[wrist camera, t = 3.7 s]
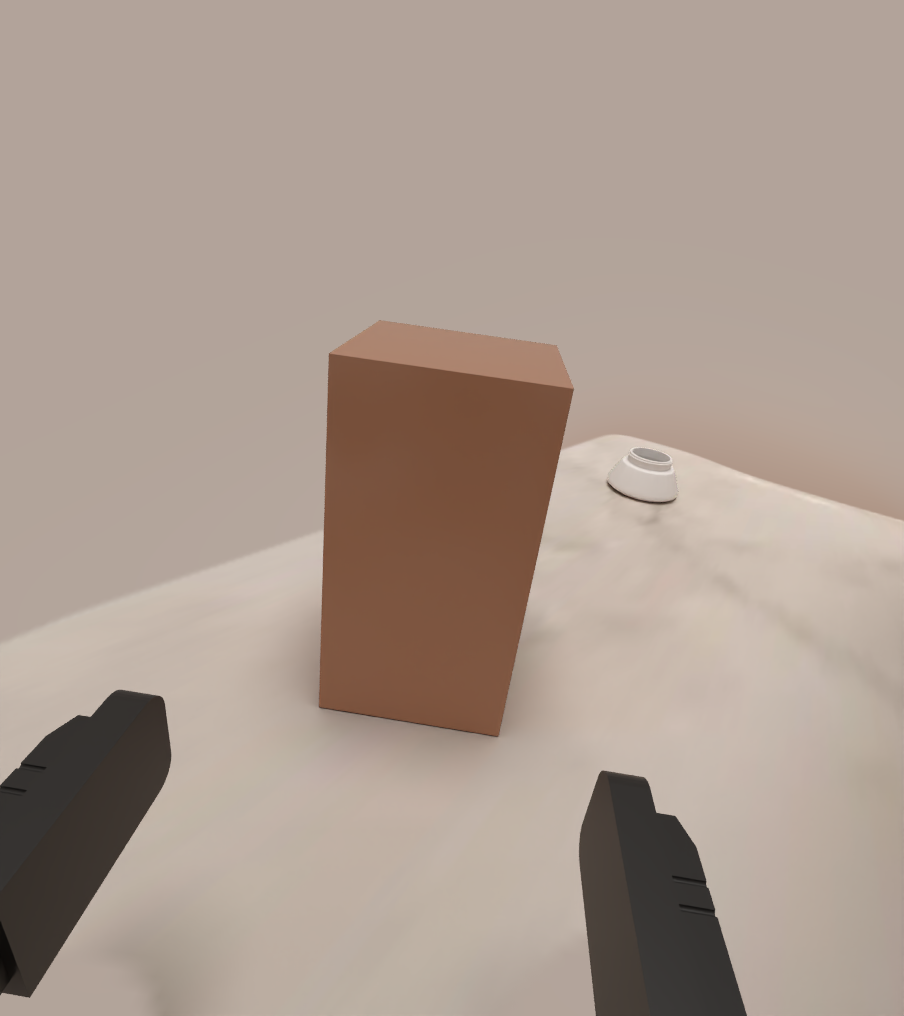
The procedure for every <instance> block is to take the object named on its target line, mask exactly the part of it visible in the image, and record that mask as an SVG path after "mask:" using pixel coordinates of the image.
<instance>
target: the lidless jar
mask: <svg viewBox="0 0 904 1016" xmlns="http://www.w3.org/2000/svg"><path fill="white" fill-rule="evenodd" d="M628 454H629V455H627V456H625V457H623V458H622V459H621V460H620V461H619V462H618V463H617V464H616V465H615V467H614V468H613V469H612V470H611V471H610V472H609V474H608V483H609V484H610V485H611V486H612V487H613V488H615V489H616V490H617V491H619V492H621V493H622V494H624V495H626V496H629V497H632V498H634V499H637V500H642V501H647V502H665V501H670V500H674V499H675V498H676V496H677V495H678V492H679V491H678V486H677V480H676V474H675V471H674V468H673V467H672V461H673V459H672V457H671V456H669V455H668V454H666V453H664V452H661V451H658V450H655V449H651V448H645V447H634V448H631V449H630V451H629V452H628Z"/></svg>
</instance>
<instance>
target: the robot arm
mask: <svg viewBox="0 0 904 1016" xmlns="http://www.w3.org/2000/svg"><path fill="white" fill-rule="evenodd" d="M170 763H171V748H170V740H169V732H168V725H167V717H166V709H165V703H164V700H163V698H162V697H160V696H156V695H150V694H144V693H138V692H131V691H125V690H117V691H115V692H113V693H112V694H111V695H110V696H109V697H108V698H107V699H106V700H105V701H104V702H103V703H102V705H101V706H100V707H99V708H98V709H97V710H96V711H95V713H94V714H93V715H92V716H91V717H87V716H81V715H78V716H76V717H75V718H73V719H72V720H70V721H69V722H67V723H65V724H64V725H62V726H61V727H59V728H58V729H56V730H55V731H53V732H52V733H50V734H48V735H47V736H46V737H45V738H44V739H43V740H42V741H41V742H40V743H39V744H38V745H37V746H36V747H35V748H34V750H33V751H32V752H31V753H30V754H29V755H28V756H27V757H26V758H25V759H24V760H23V761H22V762H21V766H20V768H19V769H17V768H16V769H15V770H14V771H13V772H12V773H11V774H10V775H9V776H8V778H7V779H6V780H5V781H4V782H3V783H2V784H1V785H0V995H1V993H7V994H13V995H18V996H24V997H29V998H30V996H31V995H32V993H33V992H34V990H35V989H36V987H37V985H38V984H39V982H40V981H41V979H42V978H43V976H44V974H45V973H46V971H47V969H48V968H49V966H50V965H51V963H52V962H53V960H54V958H55V957H56V955H57V954H58V952H59V951H60V949H61V947H62V946H63V944H64V943H65V941H66V939H67V938H68V936H69V935H70V933H71V932H72V930H73V928H74V927H75V925H76V924H77V922H78V920H79V919H80V917H81V916H82V914H83V913H84V911H85V909H86V908H87V906H88V905H89V903H90V901H91V900H92V898H93V897H94V895H95V893H96V892H97V890H98V889H99V887H100V886H101V884H102V882H103V881H104V879H105V878H106V876H107V874H108V873H109V871H110V870H111V868H112V867H113V865H114V863H115V862H116V860H117V859H118V857H119V855H120V854H121V852H122V851H123V849H124V848H125V846H126V844H127V843H128V841H129V840H130V838H131V836H132V835H133V833H134V832H135V830H136V828H137V827H138V825H139V824H140V822H141V821H142V819H143V817H144V816H145V814H146V813H147V811H148V809H149V808H150V806H151V805H152V803H153V802H154V800H155V798H156V797H157V795H158V794H159V792H160V790H161V789H162V787H163V785H164V782H165V780H166V777H167V775H168V771H169V768H170ZM579 861H580V871H581V881H582V890H583V899H584V909H585V918H586V927H587V936H588V946H589V955H590V964H591V973H592V983H593V992H594V1001H595V1011H596V1016H747V1014H746V1011H745V1008H744V1004H743V1001H742V998H741V994H740V991H739V988H738V984H737V981H736V978H735V974H734V971H733V968H732V964H731V961H730V958H729V954H728V951H727V948H726V945H725V941H724V938H723V935H722V931H721V928H720V925H719V921H718V918H717V917H715V908H714V905H713V901H712V898H711V895H710V891H709V888H707V887H706V878H705V875H704V871H703V868H702V865H701V861H700V858H699V855H698V851H697V848H696V846H695V845H694V843H693V842H692V840H691V839H690V837H689V836H688V834H687V833H686V831H685V830H684V828H683V827H682V825H681V824H680V822H679V821H678V819H677V818H676V816H672V815H666V814H660V813H656V810H655V806H654V802H653V798H652V794H651V790H650V786H649V784H648V781H647V780H646V779H645V778H644V777H639V776H633V775H627V774H621V773H615V772H608V771H601V772H600V774H599V776H598V779H597V782H596V785H595V788H594V791H593V794H592V797H591V800H590V803H589V806H588V809H587V812H586V815H585V818H584V821H583V824H582V828H581V833H580V843H579Z"/></svg>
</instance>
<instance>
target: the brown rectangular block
mask: <svg viewBox="0 0 904 1016" xmlns="http://www.w3.org/2000/svg"><path fill="white" fill-rule="evenodd" d="M573 390H574V388H573V385H572V383H571V380H570V378H569V375H568V373H567V370H566V368H565V365H564V363H563V361H562V358H561V355H560V353H559V351H558V348H557V346H556V345H550V344H543V343H536V342H529V341H521V340H515V339H507V338H501V337H493V336H487V335H479V334H472V333H465V332H458V331H451V330H444V329H437V328H430V327H423V326H416V325H409V324H402V323H395V322H388V321H381V320H380V321H378V322H376V323H375V324H373V325H372V326H370V327H369V328H368V329H366V330H364V331H363V332H361V333H360V334H358V335H357V336H355V337H353V338H352V339H350V340H349V341H347V342H346V343H345V344H343V345H341V346H340V347H338V348H337V349H335V350H334V351H332V352H330V353H329V371H328V406H327V407H328V408H327V441H326V442H327V443H326V477H325V478H326V479H325V513H324V514H325V515H324V516H325V517H324V548H323V584H322V619H321V655H320V691H319V707H322V708H329V709H335V710H341V711H347V712H353V713H359V714H365V715H371V716H377V717H383V718H389V719H396V720H402V721H408V722H414V723H420V724H426V725H432V726H438V727H444V728H450V729H456V730H463V731H469V732H475V733H481V734H487V735H493V736H498V735H499V731H500V726H501V721H502V717H503V712H504V708H505V703H506V698H507V694H508V689H509V685H510V680H511V675H512V671H513V666H514V662H515V657H516V652H517V648H518V643H519V639H520V634H521V629H522V625H523V620H524V616H525V611H526V606H527V602H528V597H529V593H530V588H531V583H532V579H533V574H534V570H535V565H536V560H537V556H538V551H539V547H540V542H541V538H542V533H543V528H544V524H545V519H546V515H547V510H548V505H549V501H550V496H551V492H552V487H553V482H554V478H555V473H556V469H557V464H558V459H559V455H560V450H561V446H562V440H563V436H564V431H565V427H566V422H567V418H568V413H569V409H570V404H571V399H572V395H573Z"/></svg>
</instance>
